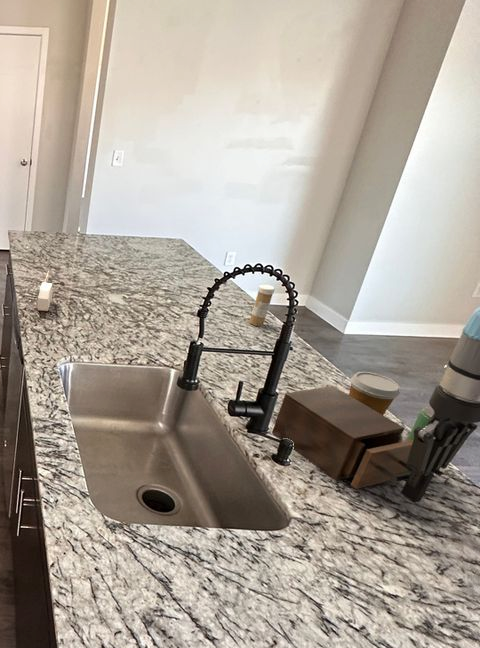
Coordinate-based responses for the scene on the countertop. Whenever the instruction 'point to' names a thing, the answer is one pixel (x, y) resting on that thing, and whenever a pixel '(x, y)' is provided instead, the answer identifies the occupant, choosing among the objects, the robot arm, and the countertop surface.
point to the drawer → (378, 460)
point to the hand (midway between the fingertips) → (410, 497)
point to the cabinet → (329, 426)
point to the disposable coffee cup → (373, 390)
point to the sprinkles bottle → (261, 305)
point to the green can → (421, 422)
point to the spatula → (45, 295)
